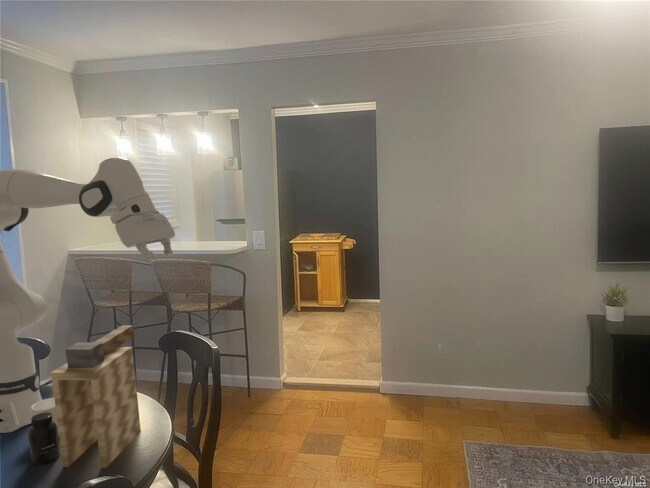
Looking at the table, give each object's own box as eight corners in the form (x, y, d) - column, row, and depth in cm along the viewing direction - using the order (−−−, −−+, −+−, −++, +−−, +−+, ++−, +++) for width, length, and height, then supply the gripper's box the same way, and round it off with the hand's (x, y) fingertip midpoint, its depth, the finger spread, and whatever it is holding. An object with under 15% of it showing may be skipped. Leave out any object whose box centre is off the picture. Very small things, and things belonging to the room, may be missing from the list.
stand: (102, 429, 141) (93, 346, 137) (140, 430, 140) (132, 346, 136) (63, 466, 123) (51, 372, 119) (106, 468, 122) (95, 372, 118)
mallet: (117, 336, 146) (116, 320, 145) (139, 336, 145) (137, 320, 144) (67, 367, 122) (65, 349, 121) (93, 367, 121) (90, 349, 121)
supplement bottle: (48, 466, 124) (42, 423, 122) (25, 464, 125) (19, 422, 123) (66, 451, 130) (61, 410, 129) (44, 449, 132) (39, 409, 130)
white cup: (52, 444, 134) (48, 411, 133) (29, 441, 136) (24, 409, 135) (72, 429, 142) (68, 398, 141) (49, 427, 144) (45, 396, 142)
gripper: (150, 214, 140) (171, 256, 140) (105, 218, 121) (129, 267, 121) (167, 205, 139) (188, 247, 139) (124, 207, 119) (148, 257, 119)
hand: (160, 256), depth 130 cm, fingers open, 8 cm apart
